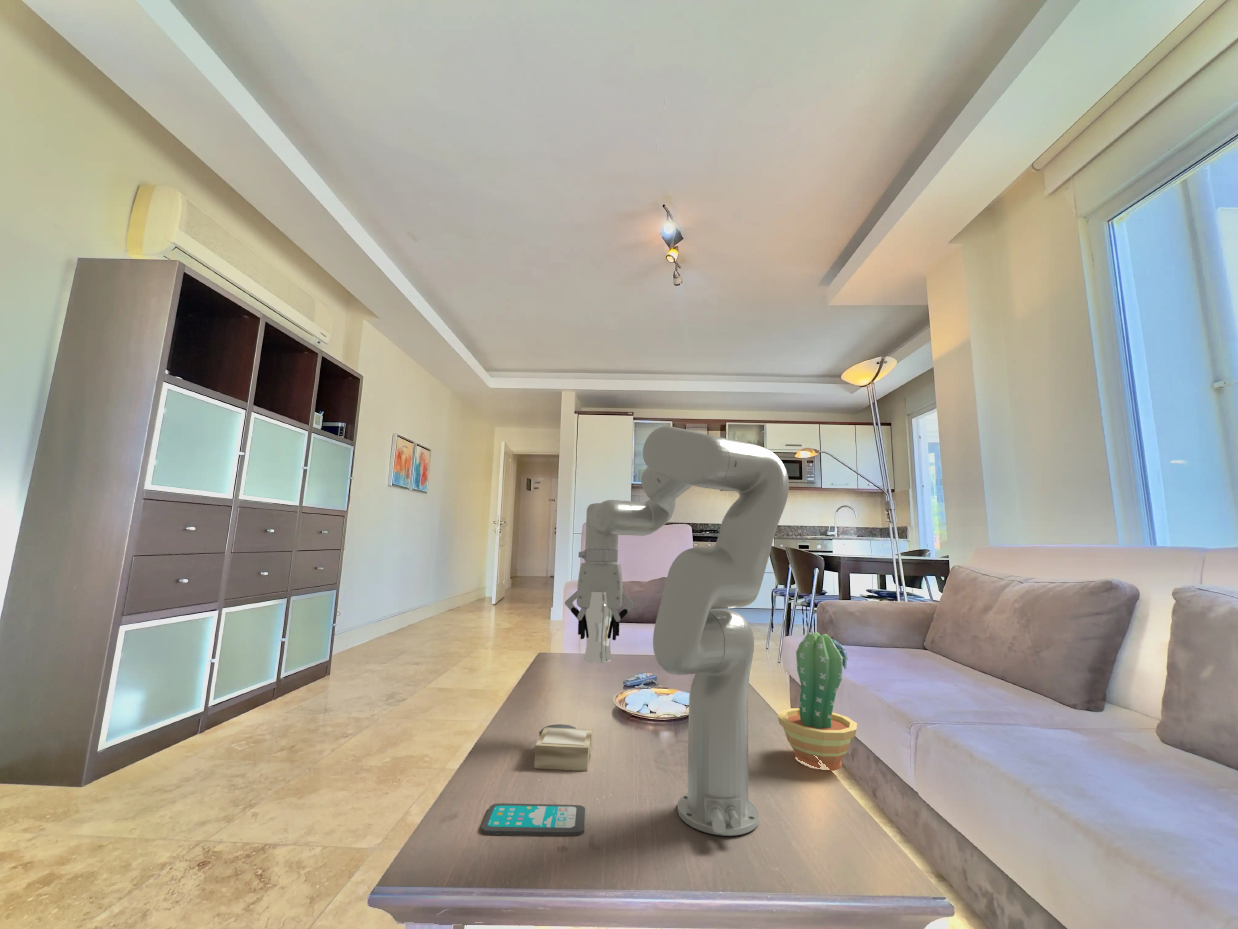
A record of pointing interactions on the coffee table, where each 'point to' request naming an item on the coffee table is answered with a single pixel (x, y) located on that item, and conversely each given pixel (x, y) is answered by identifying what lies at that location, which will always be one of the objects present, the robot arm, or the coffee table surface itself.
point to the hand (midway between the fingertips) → (598, 638)
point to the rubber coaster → (559, 726)
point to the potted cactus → (819, 704)
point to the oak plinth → (564, 749)
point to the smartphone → (534, 820)
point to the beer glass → (598, 629)
